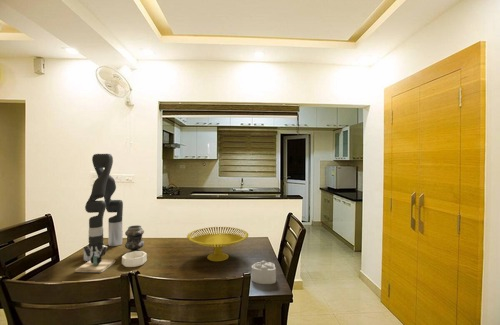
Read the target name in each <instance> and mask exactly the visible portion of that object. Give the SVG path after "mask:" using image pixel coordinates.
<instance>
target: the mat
mask: <svg viewBox="0 0 500 325" xmlns="http://www.w3.org/2000/svg"><path fill="white" fill-rule="evenodd" d="M115 262H116V261H115ZM115 262H114V263H112V264H111V265H110V266H108V267H107V268H105V269H104V270H103V271H101V272H100V273H103V272H104V271H105V270H107V269H109V268H110V267H112V266H113V265H114V264H115ZM75 273H89V272H88V271H75Z"/></svg>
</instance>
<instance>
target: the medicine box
mask: <svg viewBox="0 0 500 325" xmlns="http://www.w3.org/2000/svg"><path fill="white" fill-rule="evenodd" d="M89 249H90V248H89ZM90 251H91V249H90ZM96 255H97V253H96V252H95V255H94V256H96ZM90 260H91V257H90V256H87V254H86V252H85V250H84V249H83V261H85V262H86V261H87V262H88V261H90ZM87 262H86V263H87Z"/></svg>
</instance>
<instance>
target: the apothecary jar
mask: <svg viewBox="0 0 500 325" xmlns="http://www.w3.org/2000/svg"><path fill="white" fill-rule="evenodd" d="M144 234H145V230H144V229H143V228H142V225H139V224H135V225H129V226H128V227H127V230H126V231H125V236H126V242H125V244H124V248H125V249H126V250H129V251H126V253H130V252H134V251H143V250H142V248H143V247H144V245H145V242H144V240H143V235H144Z"/></svg>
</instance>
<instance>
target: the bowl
mask: <svg viewBox="0 0 500 325" xmlns="http://www.w3.org/2000/svg"><path fill="white" fill-rule="evenodd" d="M147 256H148V254H147V252H145V251H144V250H142V251H134V252H130V253H127V252H126V253H125V254H123V255H122V256H121V265H123V266H124V267H126V268H136V267H139V266H142V265H144V264H146V262H147V261H148V258H147Z"/></svg>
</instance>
